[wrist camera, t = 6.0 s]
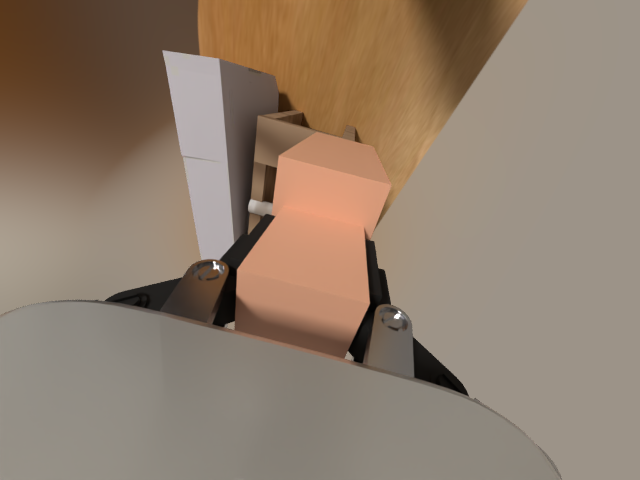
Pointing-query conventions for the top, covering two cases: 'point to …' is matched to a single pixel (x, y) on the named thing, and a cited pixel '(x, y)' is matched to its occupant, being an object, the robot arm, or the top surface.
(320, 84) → the top surface
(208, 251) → the game console
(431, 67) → the top surface
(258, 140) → the wooden rack
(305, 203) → the salmon stepped block
